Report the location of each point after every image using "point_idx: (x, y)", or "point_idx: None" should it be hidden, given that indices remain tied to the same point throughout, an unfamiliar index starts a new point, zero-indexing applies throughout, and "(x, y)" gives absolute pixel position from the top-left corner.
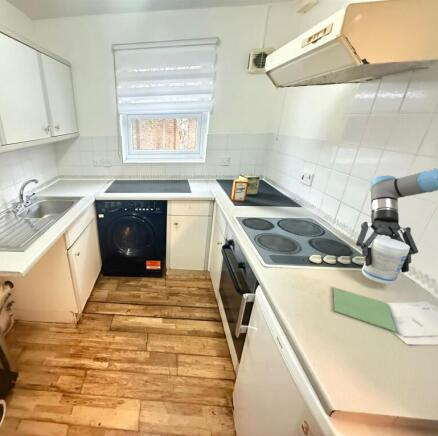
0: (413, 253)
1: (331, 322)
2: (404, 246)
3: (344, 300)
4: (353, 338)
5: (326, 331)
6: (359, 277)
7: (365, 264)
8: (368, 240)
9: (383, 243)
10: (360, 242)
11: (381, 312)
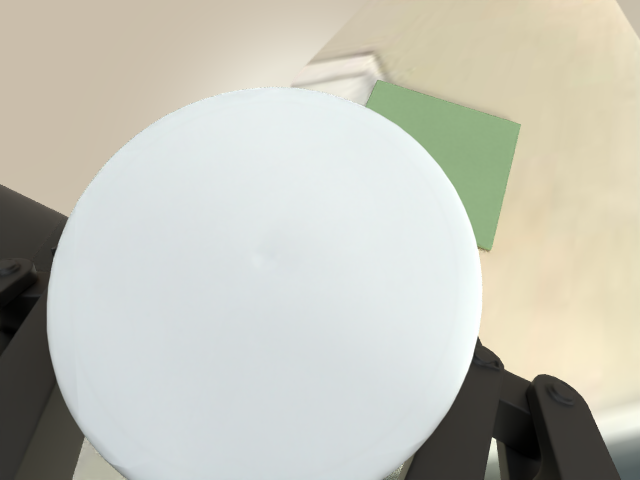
0: (50, 272)
1: (538, 84)
2: (170, 162)
3: (474, 177)
4: (496, 47)
5: (557, 54)
6: None
7: None
8: (488, 428)
9: (413, 205)
10: (569, 394)
11: None
